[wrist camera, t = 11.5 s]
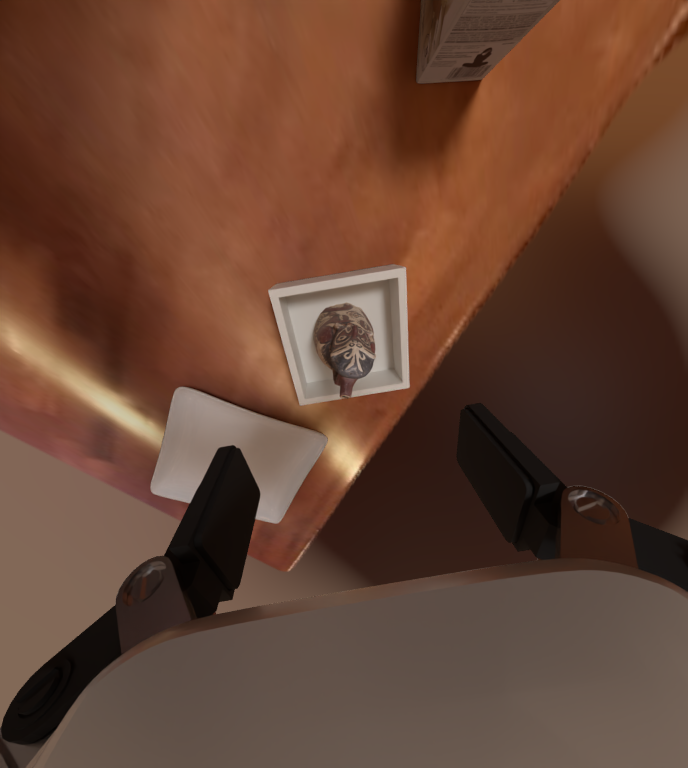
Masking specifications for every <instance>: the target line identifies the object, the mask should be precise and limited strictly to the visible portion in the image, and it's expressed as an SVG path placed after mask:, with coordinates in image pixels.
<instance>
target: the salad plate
mask: <svg viewBox="0 0 688 768" xmlns="http://www.w3.org/2000/svg"><path fill="white" fill-rule="evenodd" d="M327 441H328V438H327V437H326V436H325V435H324V434H322V433H320V432H317V431H315V430H311V429H308V428H304V427H300V426H297V425H293V424H290V423H286V422H283V421H280V420H277V419H274V418H271V417H268V416H265V415H262V414H259V413H256V412H253V411H250V410H248V409H245V408H242V407H240V406H237V405H234V404H232V403H229V402H226V401H224V400H221V399H219V398H216V397H214V396H211V395H209V394H206V393H204V392H202V391H199V390H196V389H193V388H189V387H179V388H177V389H176V390H175V392H174V394H173V398H172V401H171V406H170V410H169V415H168V420H167V424H166V429H165V433H164V437H163V442H162V446H161V450H160V454H159V457H158V461H157V464H156V468H155V471H154V474H153V478H152V481H151V491H152V493H153V494H156V495H159V496H162V497H166V498H170V499H174V500H178V501H183V502H187V503H190V502H191V500H192V498H193V496H194V494H195V492H196V490H197V488H198V487H199V485H200V484H201V482H202V480H203V478H204V476H205V474H206V472H207V470H208V468H209V466H210V463H211V461H212V459H213V457H214V455H215V453H216V451H217V450H218V448H220V447H225V446H231V445H234V446H235V447H236V448H240V449H241V451H242V454H243V456H244V458H245V460H246V462H247V464H248V466H249V468H250V470H251V472H252V475H253V477H254V479H255V481H256V483H257V485H258V487H259V490H260V501H259V505H258V509H257V514H256V518H255V519H258V520H262V521H266V522H270V523H279V522H280V521H281V520H282V518H283V516H284V515H285V513H286V511H287V509H288V507H289V506H290V504H291V502H292V500H293V498H294V497H295V495H296V493H297V491H298V490H299V488H300V486H301V484H302V483H303V481H304V479H305V478H306V476H307V474H308V473H309V471H310V470H311V468H312V467H313V465H314V464H315V462H316V461H317V459H318V458H319V456H320V455H321V453H322V451H323V450H324V448H325V446H326V444H327Z"/></svg>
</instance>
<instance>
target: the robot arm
mask: <svg viewBox="0 0 688 768" xmlns="http://www.w3.org/2000/svg"><path fill="white" fill-rule="evenodd" d="M457 461H458V463H459V465H460V467H461V469H462V470H463V472H464V473H465V475H466V477H467V478H468V480H469V481H470V483H471V484H472V486H473V488H474V489H475V491H476V493H477V494H478V496H479V498H480V499H481V501H482V502H483V504H484V506H485V507H486V509H487V510H488V512H489V514H490V515H491V517H492V519H493V520H494V522H495V523H496V525H497V527H498V528H499V530H500V531H501V533H502V535H503V536H504V537H505V539H506V540H507V541H508V542H509V543H510V542H512V543H513V545H514V546H515V548H516V549H517V551H525V550H531V551H532V552H533V554H534V555H535V556H536V557H537V558H538V560H537V561H531V562H523V563H516V564H509V565H502V566H495V567H488V568H482V569H476V570H470V571H464V572H458V573H452V574H445V575H439V576H434V577H427V578H422V579H415V580H409V581H403V582H397V583H391V584H385V585H379V586H373V587H367V588H361V589H355V590H349V591H344V592H338V593H332V594H326V595H320V596H314V597H309V598H303V599H297V600H292V601H286V602H281V603H274V604H269V605H263V606H257V607H252V608H247V609H242V610H237V611H232V612H227V613H221V614H216V610H217V607H218V603H219V602H222V601H228V600H232V599H233V594H234V590H235V589H237V588H238V587H239V585H240V582H241V578H242V573H243V569H244V565H245V560H246V556H247V552H248V548H249V543H250V539H251V535H252V531H253V526H254V522H255V518H256V514H257V509H258V505H259V501H260V490H259V487H258V485H257V483H256V481H255V479H254V477H253V475H252V472H251V470H250V468H249V466H248V464H247V462H246V460H245V458H244V456H243V454H242V451H241V449H240V448H236V447H235V446H234V445H231V446H225V447H220V448H218V450H217V451H216V453H215V455H214V457H213V459H212V461H211V463H210V466H209V468H208V470H207V472H206V474H205V476H204V478H203V480H202V482H201V484H200V485H199V487H198V488H197V490H196V492H195V494H194V496H193V498H192V500H191V502H190V504H189V506H188V508H187V510H186V512H185V514H184V516H183V518H182V521H181V523H180V525H179V527H178V529H177V531H176V533H175V535H174V537H173V539H172V541H171V543H170V545H169V547H168V549H167V551H166V553H165V555H164V556H156V557H154V558H151V559H149V560H147V561H145V562H144V563H142V564H141V565H139V566H138V567H137V568H136V569H135V570H133V572H132V573H131V574H130V575H129V576H128V577H127V578H126V579H125V581H124V582H123V584H122V586H121V587H120V589H119V591H118V594H117V596H116V605H115V606H114V607H112V608H111V609H110V610H109V611H108V612H106V613H105V614H104V615H103V616H102V617H101V618H99V619H98V620H97V621H96V622H94V623H93V624H92V625H91V626H90V627H88V628H87V629H86V630H85V631H84V632H82V633H81V634H80V635H79V636H78V637H76V638H75V639H74V640H73V641H72V642H70V643H69V644H68V645H67V646H66V647H64V648H63V649H62V650H61V651H60V652H58V653H57V654H56V655H55V656H54V657H53V658H51V659H50V660H49V661H48V662H46V663H45V664H44V665H43V666H42V667H41V668H40V669H39V670H38V671H36V672H35V673H34V674H33V675H32V676H31V677H30V678H29V680H28V681H27V682H26V683H25V685H24V686H23V687H22V688H21V689H20V690H19V692H18V693H17V695H16V696H15V698H14V700H13V701H12V702H11V704H10V706H9V708H8V710H7V712H6V714H5V716H4V718H3V723H2V726H1V728H0V768H688V540H685V539H683V538H680V537H677V536H675V535H672V534H670V533H667V532H664V531H662V530H659V529H656V528H654V527H651V526H649V525H646V524H643V523H640V522H638V521H635V520H633V519H630V518H628V516H627V514H626V511H625V510H624V509H623V508H622V506H621V505H620V504H619V503H618V502H616V501H615V500H614V499H613V498H611V497H610V496H608V495H606V494H604V493H603V492H601V491H598V490H595V489H593V488H589V487H585V486H571V487H566V486H565V485H564V484H563V483H562V482H561V481H560V480H559V479H558V478H557V477H556V476H555V475H554V474H553V473H552V472H551V471H550V470H549V469H548V468H547V467H546V466H545V465H544V464H543V463H542V462H541V461H540V460H539V459H538V458H537V457H536V456H535V455H534V454H533V453H532V452H531V451H530V450H529V449H528V448H527V447H526V446H525V445H524V444H523V443H522V442H521V441H520V440H519V439H518V438H517V437H516V436H515V435H514V434H513V433H512V432H510V431H509V430H508V429H506V428H505V427H504V426H503V424H502V423H501V422H500V421H499V420H498V419H497V418H496V417H495V416H494V415H493V414H492V413H491V412H490V411H489V410H488V409H487V408H486V407H485V406H484V405H483V404H481V403H477V404H471V405H466V406H465V408H464V409H463V410H461V413H460V425H459V435H458V446H457Z"/></svg>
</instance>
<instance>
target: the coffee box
mask: <svg viewBox="0 0 688 768" xmlns="http://www.w3.org/2000/svg"><path fill="white" fill-rule="evenodd" d="M559 1H560V0H421V12H420V27H419V42H418V58H417V74H416V82H417V83H419V84H424V83H439V82H457V81H472V80H482V79H483V78H484V77H485V76H486V75H487V74H488V73H489V72H490V71H491V70H492V69H493V68H494V67H495V66H496V65H497V64H498V63H499V62H500V61H501V60H502V59H503V58H504V57H505V56H506V55H507V54H508V53H509V52H510V51H511V50H512V49H513V48H514V47H515V46H516V45H517V44H518V43H519V42H520V40H521V39H522V38H523V37H524V36H525V35H526V34H527V33H528V32H529V31H530V30H531V29H532V28H533V27H534V26H535V25H536V24H537V23H538V22H539V21H540V20H541V19H542V18H543V17H544V16H545V15H546V14H547V13H548V12H549V11H550V10H551V9H552V8H553V7H554V6H555V5H556V4H557V3H558V2H559Z"/></svg>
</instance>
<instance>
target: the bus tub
mask: <svg viewBox="0 0 688 768" xmlns="http://www.w3.org/2000/svg"><path fill="white" fill-rule="evenodd" d="M268 292H269V296H270V299H271V303H272V307H273V310H274V314H275V317H276V321H277V325H278V328H279V332H280V335H281V339H282V343H283V346H284V350H285V354H286V357H287V361H288V364H289V368H290V372H291V375H292V379H293V382H294V386H295V390H296V393H297V397H298V401H299V404H300V406H302V405H308V404H314V403H320V402H326V401H332V400H338V399H342V398H340V386H338V385H336V384H334V380H333V372H332V370H331V369H330V368H328V367H327V366H326V365H325V364H324V363H323V362H322V361H321V359H320V358H319V356H318V354H317V352H316V348H315V345H314V341H313V332H314V327H315V323H316V321H317V319H318V317H319V315H320V313H321V312H322V311H323V310H324V309H325V308H327V307H330V306H334V305H336V304H343V303H346V302H347V303H350V304H352V305H354V306H356V307H359V308H361V309H362V310H363V312H364V313H365V314H366V316H367V318H368V320H369V321H370V323H371V325H372V328H373V331H374V341H375V354H376V358H375V360H374V363H373V367H372V369H371V371H370V372H369V373H368V374H367V375H366V376H365V377H363V378H360V379H358V380H357V381H356V382H355V384H354V386H353V389H352V395H351V397H356V396H362V395H368V394H374V393H380V392H386V391H392V390H398V389H404V388H409V355H408V321H407V287H406V267H403V266H399V265H395V264H391V265H385V266H379V267H374V268H368V269H362V270H356V271H350V272H344V273H338V274H332V275H326V276H320V277H314V278H308V279H302V280H296V281H290V282H284V283H279V284H275V285H274V286H273V287H272V288H271V289H269V290H268Z"/></svg>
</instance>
